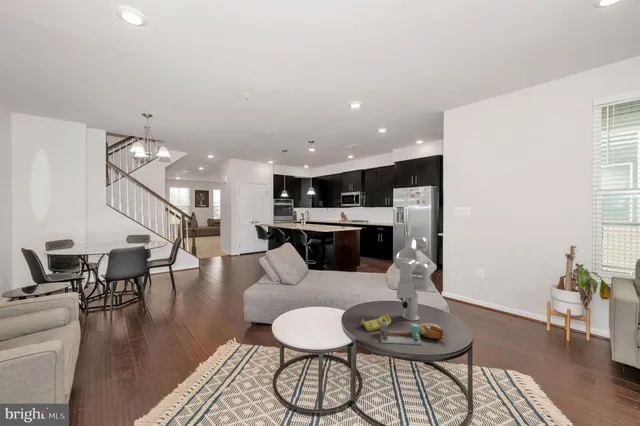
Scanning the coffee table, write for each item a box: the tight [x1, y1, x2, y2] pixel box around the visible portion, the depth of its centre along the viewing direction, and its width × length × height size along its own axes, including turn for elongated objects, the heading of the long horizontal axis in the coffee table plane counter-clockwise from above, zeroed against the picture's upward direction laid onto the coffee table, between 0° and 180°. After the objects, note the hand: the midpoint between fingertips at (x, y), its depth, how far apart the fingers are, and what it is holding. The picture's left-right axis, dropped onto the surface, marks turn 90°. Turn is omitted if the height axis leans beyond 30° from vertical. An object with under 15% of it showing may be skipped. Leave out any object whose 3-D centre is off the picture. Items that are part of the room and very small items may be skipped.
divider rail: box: [379, 322, 421, 339], centre depth 172 cm, size 11×25×8 cm, turn 86°
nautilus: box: [418, 322, 449, 343], centre depth 173 cm, size 8×22×15 cm
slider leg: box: [410, 322, 421, 340], centre depth 171 cm, size 11×4×8 cm, turn 176°
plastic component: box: [360, 313, 392, 332], centre depth 189 cm, size 20×7×10 cm
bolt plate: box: [379, 335, 424, 346], centre depth 169 cm, size 7×25×1 cm, turn 86°
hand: (404, 307), depth 176 cm, fingers closed
